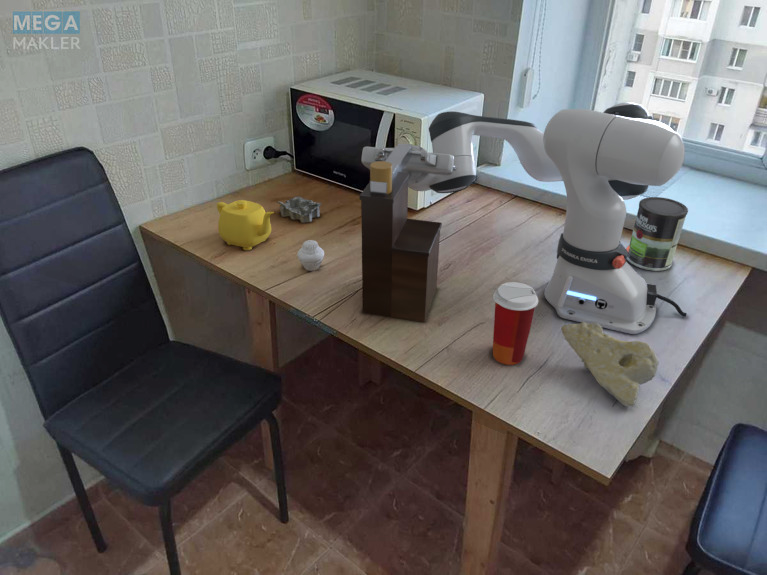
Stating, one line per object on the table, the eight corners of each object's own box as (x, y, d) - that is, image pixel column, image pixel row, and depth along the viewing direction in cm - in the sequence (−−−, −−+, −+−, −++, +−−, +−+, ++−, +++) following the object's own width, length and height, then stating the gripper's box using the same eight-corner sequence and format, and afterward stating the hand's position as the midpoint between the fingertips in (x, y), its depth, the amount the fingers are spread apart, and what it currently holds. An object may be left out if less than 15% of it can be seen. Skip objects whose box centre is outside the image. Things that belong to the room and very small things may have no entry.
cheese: (664, 411, 104) (655, 326, 109) (662, 404, 98) (653, 315, 103) (571, 412, 110) (567, 332, 115) (564, 406, 104) (560, 321, 109)
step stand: (425, 323, 122) (431, 203, 109) (361, 313, 125) (359, 195, 111) (437, 288, 134) (444, 176, 120) (378, 280, 136) (378, 169, 123)
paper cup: (523, 342, 117) (533, 280, 110) (533, 368, 111) (544, 303, 103) (482, 343, 117) (490, 280, 109) (490, 369, 110) (498, 304, 103)
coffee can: (646, 274, 139) (661, 218, 132) (616, 254, 148) (629, 200, 140) (682, 266, 143) (698, 211, 135) (651, 247, 151) (665, 194, 143)
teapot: (291, 242, 152) (287, 202, 146) (262, 260, 144) (257, 219, 138) (236, 225, 159) (231, 186, 154) (205, 242, 151) (199, 202, 146)
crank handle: (388, 195, 111) (389, 169, 109) (367, 193, 112) (367, 167, 110) (414, 156, 130) (415, 132, 127) (396, 154, 130) (396, 131, 128)
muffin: (329, 269, 140) (328, 242, 136) (305, 276, 137) (303, 249, 134) (317, 258, 145) (316, 232, 141) (293, 265, 142) (291, 238, 138)
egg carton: (276, 215, 165) (274, 201, 163) (295, 205, 170) (294, 192, 168) (305, 225, 160) (304, 210, 158) (324, 215, 165) (323, 201, 163)
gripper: (456, 184, 138) (449, 174, 124) (369, 175, 142) (353, 164, 129) (460, 156, 138) (453, 143, 124) (372, 148, 142) (357, 134, 128)
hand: (401, 153), depth 127 cm, fingers open, 8 cm apart
